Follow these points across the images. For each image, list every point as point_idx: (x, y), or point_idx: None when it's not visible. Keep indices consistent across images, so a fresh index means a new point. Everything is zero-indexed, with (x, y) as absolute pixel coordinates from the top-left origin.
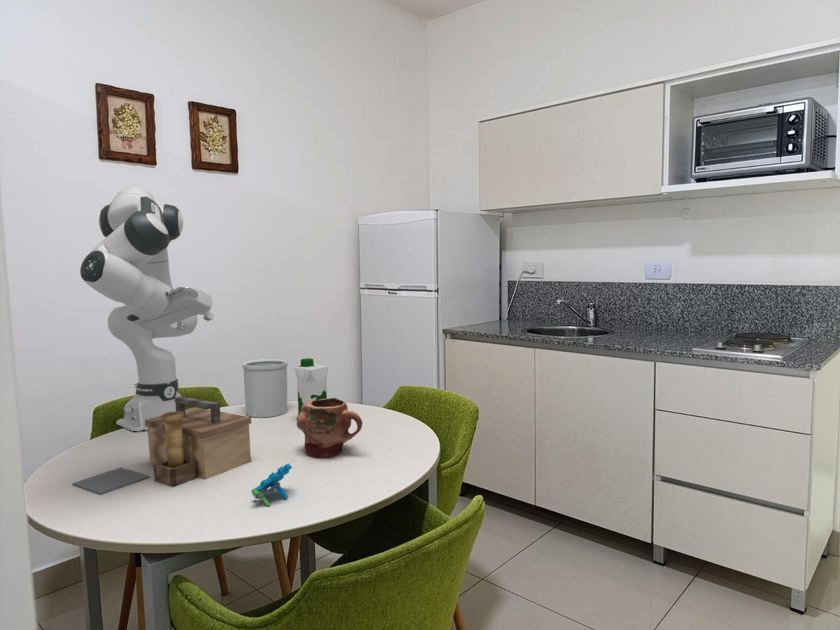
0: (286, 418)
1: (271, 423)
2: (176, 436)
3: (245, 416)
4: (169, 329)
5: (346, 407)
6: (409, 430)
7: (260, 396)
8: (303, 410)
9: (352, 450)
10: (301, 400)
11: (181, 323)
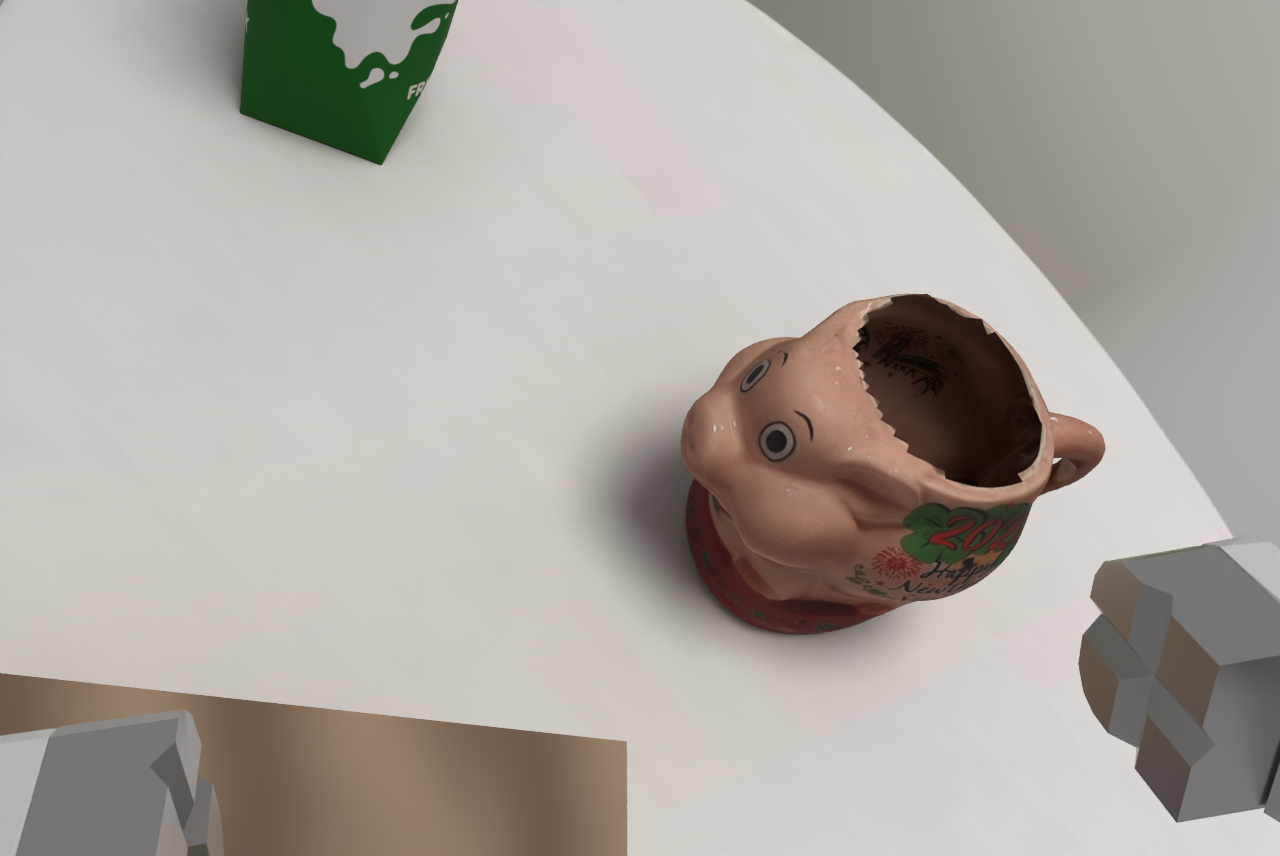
0: (101, 55)
1: (67, 157)
2: None
3: (568, 739)
4: None
5: (1019, 377)
6: (877, 163)
7: None
8: (837, 481)
9: None
10: (328, 31)
11: (174, 839)
